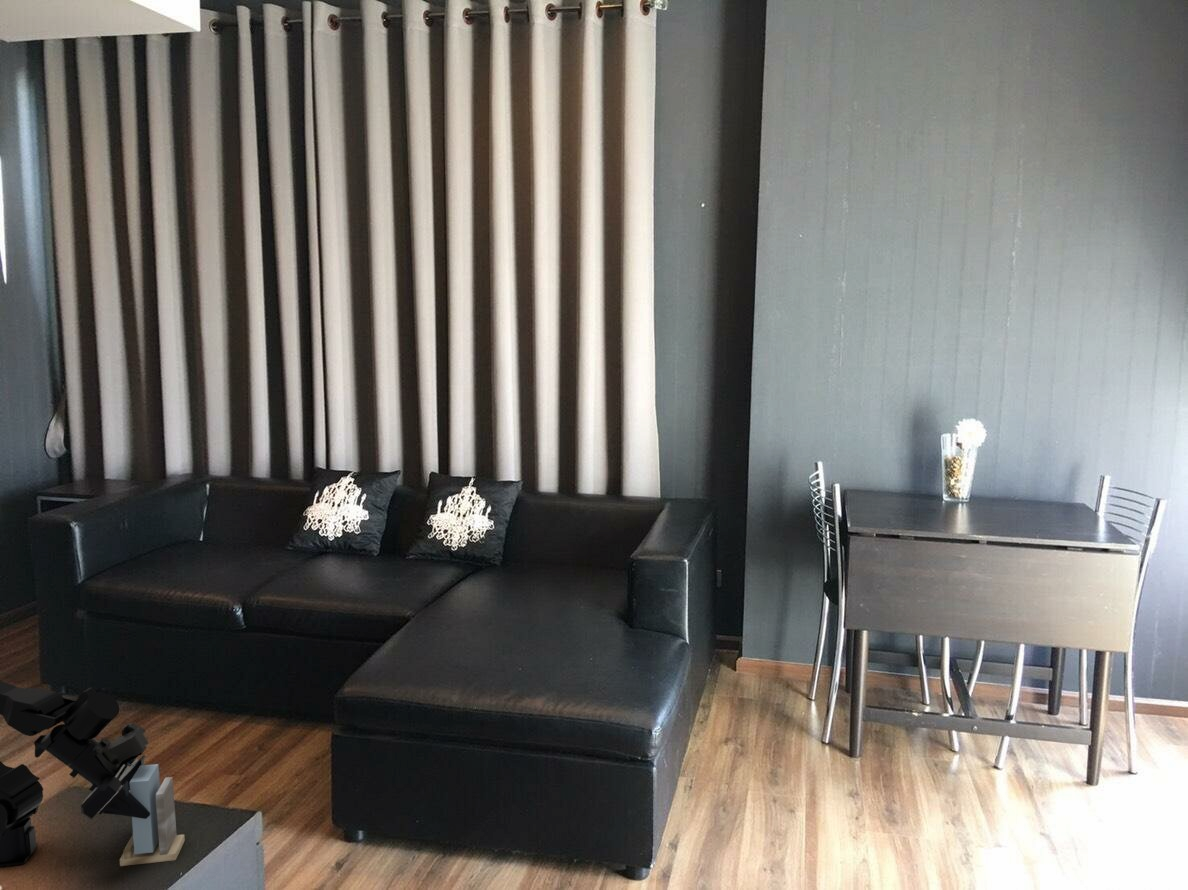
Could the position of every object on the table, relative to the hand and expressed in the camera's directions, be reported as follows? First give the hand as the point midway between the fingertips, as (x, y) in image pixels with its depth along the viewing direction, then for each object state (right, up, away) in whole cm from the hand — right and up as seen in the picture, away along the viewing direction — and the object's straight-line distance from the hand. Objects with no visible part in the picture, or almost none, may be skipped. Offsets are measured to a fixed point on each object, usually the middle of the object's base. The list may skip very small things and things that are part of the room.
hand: (153, 806), depth 165 cm
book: (-1, -7, +1) cm, 7 cm away
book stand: (-1, -8, +1) cm, 9 cm away
